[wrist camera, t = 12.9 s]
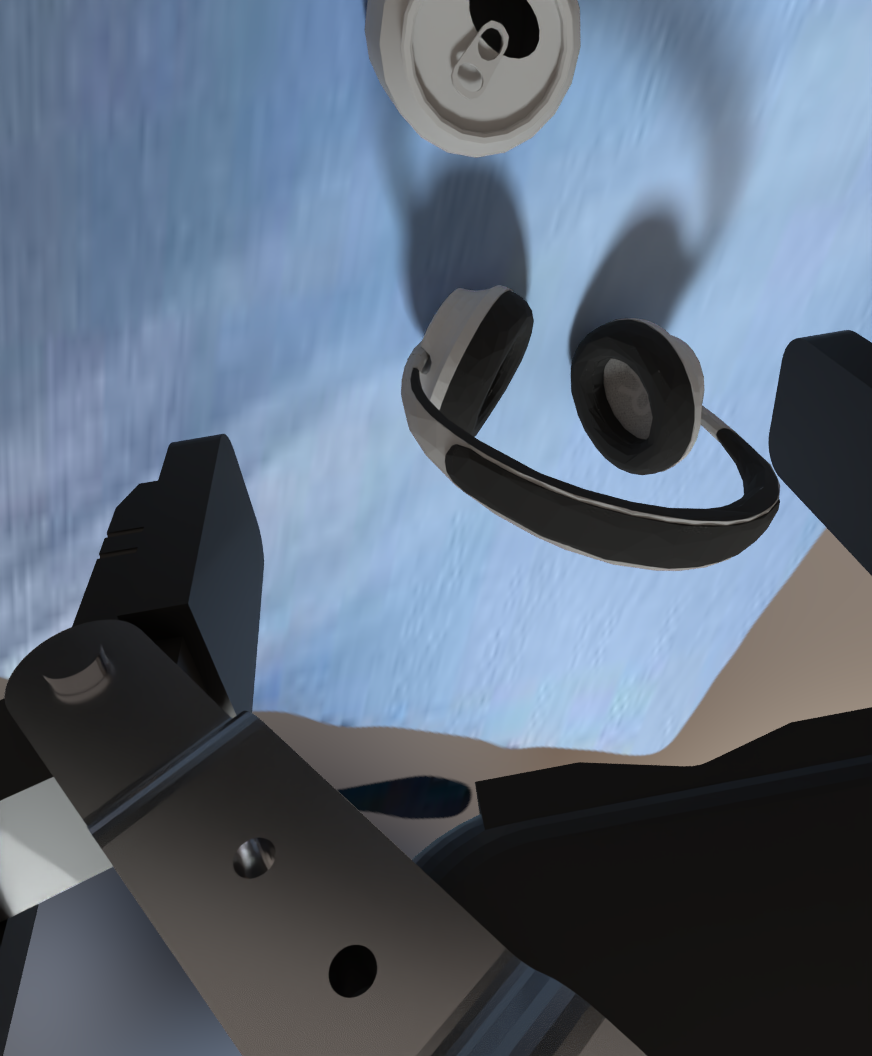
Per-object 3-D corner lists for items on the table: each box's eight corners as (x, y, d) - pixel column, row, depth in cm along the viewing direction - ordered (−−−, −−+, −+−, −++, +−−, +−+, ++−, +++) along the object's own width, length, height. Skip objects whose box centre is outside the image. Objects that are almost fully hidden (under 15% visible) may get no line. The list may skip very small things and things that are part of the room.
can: (551, 11, 36) (638, 23, 26) (455, 151, 39) (502, 207, 29) (426, -115, 33) (474, -155, 23) (332, 48, 36) (340, 74, 26)
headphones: (702, 314, 46) (909, 493, 30) (648, 433, 51) (802, 642, 35) (400, 246, 41) (456, 416, 25) (370, 384, 46) (401, 600, 30)
